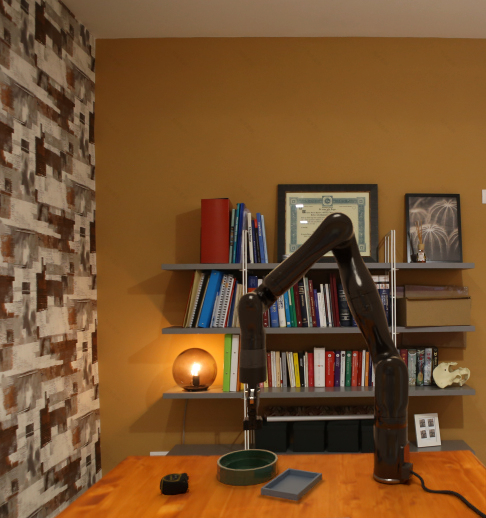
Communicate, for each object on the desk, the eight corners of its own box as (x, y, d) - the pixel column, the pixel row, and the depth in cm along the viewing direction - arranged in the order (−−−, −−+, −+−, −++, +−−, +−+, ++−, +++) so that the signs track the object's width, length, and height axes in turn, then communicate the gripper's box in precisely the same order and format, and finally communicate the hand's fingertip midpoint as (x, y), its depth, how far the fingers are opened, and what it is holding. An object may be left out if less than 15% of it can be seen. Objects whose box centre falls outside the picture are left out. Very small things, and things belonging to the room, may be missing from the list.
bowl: (287, 469, 140) (288, 453, 140) (257, 492, 124) (257, 473, 125) (239, 462, 145) (239, 446, 145) (204, 482, 130) (204, 465, 130)
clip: (262, 427, 136) (262, 415, 137) (261, 429, 134) (261, 418, 134) (243, 428, 136) (243, 416, 136) (243, 430, 133) (243, 419, 133)
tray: (322, 481, 132) (322, 473, 132) (297, 503, 118) (297, 494, 118) (288, 475, 135) (288, 468, 135) (260, 496, 122) (260, 488, 122)
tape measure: (188, 496, 122) (188, 480, 122) (158, 499, 120) (158, 483, 120) (188, 485, 128) (189, 470, 129) (160, 488, 126) (161, 473, 126)
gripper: (266, 368, 130) (266, 435, 129) (267, 360, 143) (267, 420, 142) (237, 369, 128) (236, 436, 127) (241, 361, 142) (240, 421, 141)
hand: (252, 427), depth 135 cm, fingers closed on clip, 2 cm apart
